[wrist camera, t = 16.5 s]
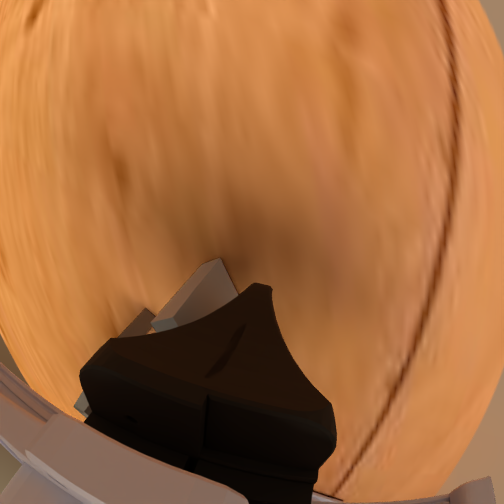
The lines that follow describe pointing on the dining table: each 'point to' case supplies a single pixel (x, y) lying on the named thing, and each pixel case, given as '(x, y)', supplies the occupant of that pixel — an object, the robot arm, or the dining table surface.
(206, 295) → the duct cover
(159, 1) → the dining table surface
